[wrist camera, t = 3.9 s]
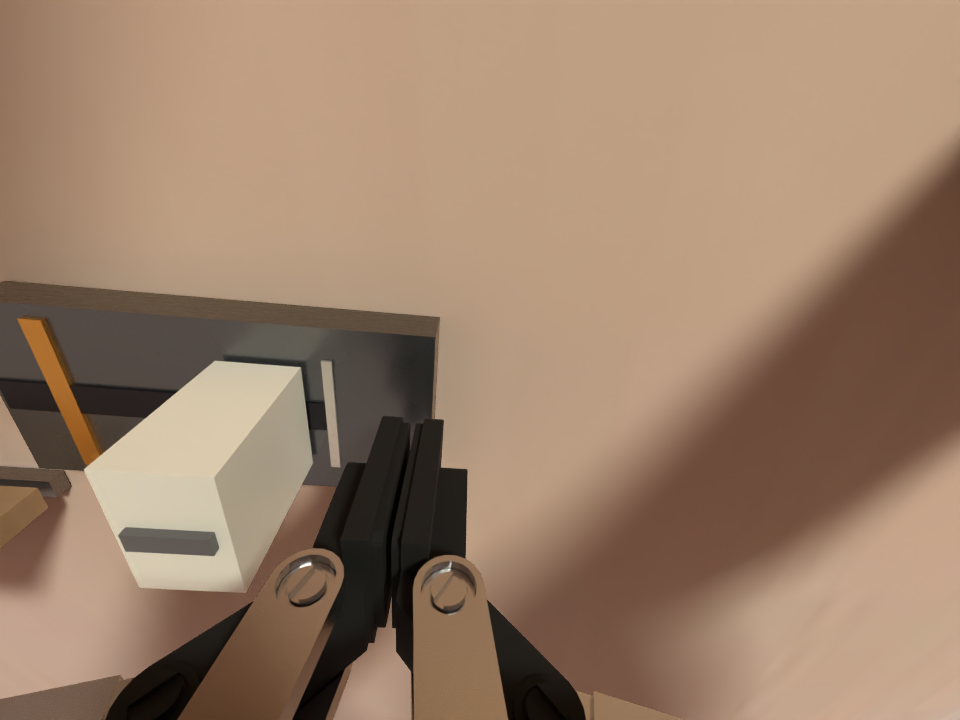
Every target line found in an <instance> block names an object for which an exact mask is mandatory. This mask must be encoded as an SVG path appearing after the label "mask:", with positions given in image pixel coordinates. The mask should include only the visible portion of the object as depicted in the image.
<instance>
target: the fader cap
mask: <svg viewBox="0 0 960 720" xmlns="http://www.w3.org/2000/svg"><path fill="white" fill-rule="evenodd" d="M312 464H313V459H312V451H311V443H310V436H309V428H308V420H307V412H306V404H305V396H304V388H303V380H302V372H301V367H291V366H277V365H264V364H251V363H238V362H225V361H214V362H213V363H212V364H210V365H209V366H208V367H207V368H206V369H204V370H203V371H202V372H201V373H200V374H198V375H197V376H196V377H195V378H194V379H192V380H191V381H190V382H189V383H188V384H186V385H185V386H184V387H183V388H181V389H180V390H179V391H178V392H177V393H175V394H174V395H173V396H172V397H171V398H169V399H168V400H167V401H166V402H165V403H163V404H162V405H161V406H160V407H159V408H157V409H156V410H155V411H154V412H152V413H151V414H150V415H149V416H148V417H146V418H145V419H144V420H143V421H142V422H140V423H139V424H138V425H137V426H136V427H134V428H133V429H132V430H131V431H130V432H128V433H127V434H126V435H125V436H124V437H122V438H121V439H120V440H119V441H117V442H116V443H115V444H114V445H113V446H111V447H110V448H109V449H108V450H107V451H105V452H104V453H103V454H102V455H101V456H99V457H98V458H97V459H96V460H95V461H93V462H92V463H91V464H90V465H88V466H87V467H86V468H85V469H84V472H85V474H86V476H87V478H88V480H89V482H90V484H91V486H92V488H93V491H94V493H95V495H96V497H97V499H98V501H99V503H100V505H101V508H102V510H103V512H104V514H105V516H106V518H107V520H108V522H109V524H110V527H111V529H112V531H113V533H114V535H115V537H116V539H117V541H118V544H119V546H120V548H121V550H122V552H123V554H124V556H125V558H126V560H127V563H128V565H129V567H130V569H131V571H132V573H133V575H134V577H135V580H136V582H137V584H138V586H139V588H153V589H173V590H194V591H214V592H235V593H246V592H247V591H248V589H249V587H250V585H251V583H252V581H253V579H254V577H255V575H256V573H257V571H258V569H259V567H260V565H261V563H262V561H263V559H264V557H265V555H266V554H267V552H268V550H269V548H270V546H271V544H272V542H273V540H274V538H275V536H276V534H277V532H278V530H279V528H280V526H281V524H282V522H283V520H284V518H285V516H286V515H287V513H288V511H289V509H290V507H291V505H292V503H293V501H294V499H295V497H296V495H297V493H298V491H299V489H300V487H301V485H302V483H303V481H304V479H305V478H306V476H307V474H308V472H309V470H310V468H311V466H312Z"/></svg>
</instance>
